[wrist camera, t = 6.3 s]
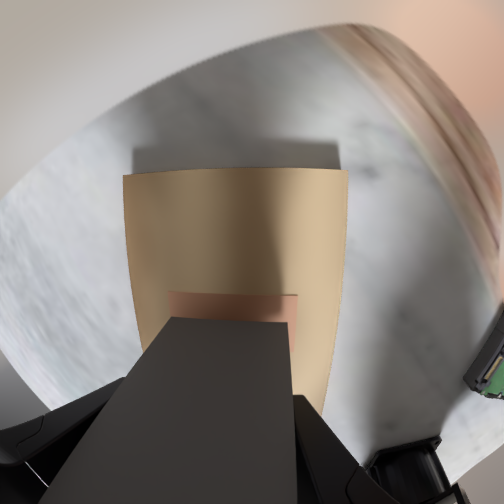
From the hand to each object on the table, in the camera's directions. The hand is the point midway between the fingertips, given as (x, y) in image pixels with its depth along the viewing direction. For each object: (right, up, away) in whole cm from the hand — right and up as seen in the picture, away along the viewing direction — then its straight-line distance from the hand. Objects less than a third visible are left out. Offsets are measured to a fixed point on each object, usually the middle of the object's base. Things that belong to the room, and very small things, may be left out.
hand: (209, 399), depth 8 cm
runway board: (0, -6, +8) cm, 10 cm away
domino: (0, +1, +4) cm, 4 cm away
